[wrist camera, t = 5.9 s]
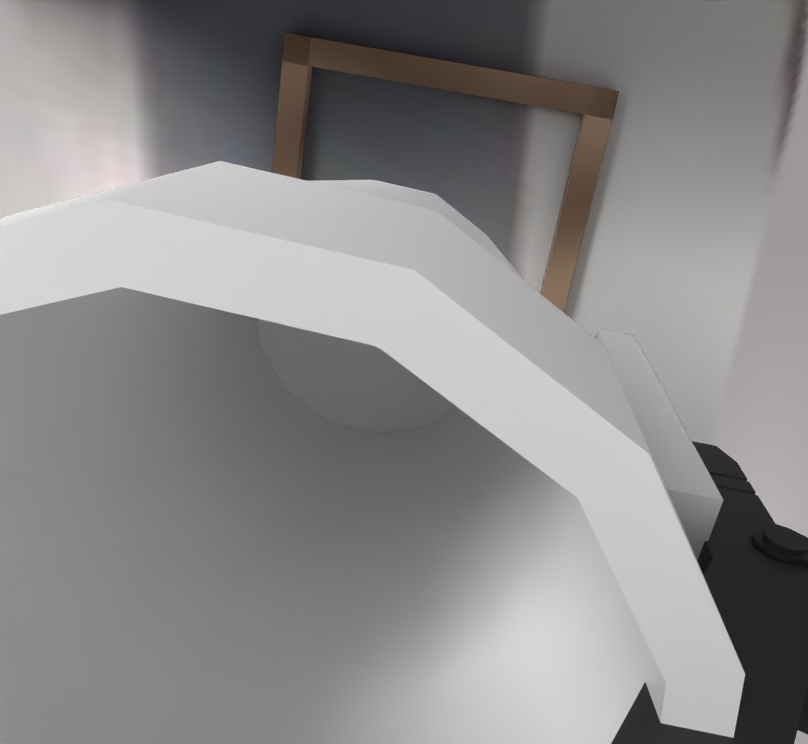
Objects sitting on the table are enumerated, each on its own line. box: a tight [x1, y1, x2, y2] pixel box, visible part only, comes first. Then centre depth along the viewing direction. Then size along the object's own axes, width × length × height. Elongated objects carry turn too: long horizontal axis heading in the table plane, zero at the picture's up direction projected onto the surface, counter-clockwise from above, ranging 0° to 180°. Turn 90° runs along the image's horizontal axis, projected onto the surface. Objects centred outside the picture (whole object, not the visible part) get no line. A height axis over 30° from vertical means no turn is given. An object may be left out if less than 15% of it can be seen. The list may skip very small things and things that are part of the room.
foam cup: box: [0, 161, 745, 744], centre depth 13 cm, size 10×9×13 cm
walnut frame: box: [272, 33, 619, 312], centre depth 35 cm, size 36×12×1 cm, turn 171°
